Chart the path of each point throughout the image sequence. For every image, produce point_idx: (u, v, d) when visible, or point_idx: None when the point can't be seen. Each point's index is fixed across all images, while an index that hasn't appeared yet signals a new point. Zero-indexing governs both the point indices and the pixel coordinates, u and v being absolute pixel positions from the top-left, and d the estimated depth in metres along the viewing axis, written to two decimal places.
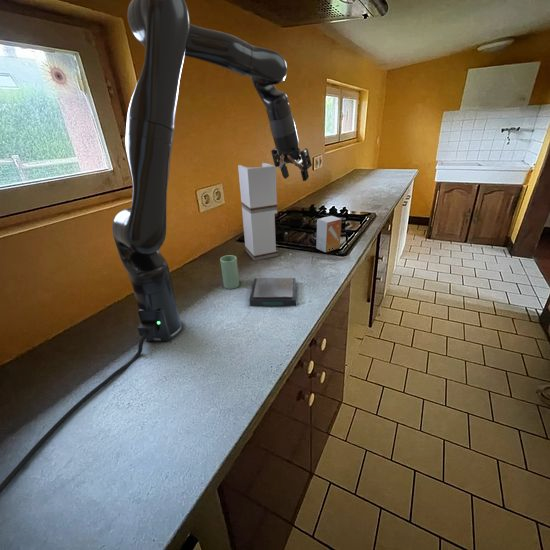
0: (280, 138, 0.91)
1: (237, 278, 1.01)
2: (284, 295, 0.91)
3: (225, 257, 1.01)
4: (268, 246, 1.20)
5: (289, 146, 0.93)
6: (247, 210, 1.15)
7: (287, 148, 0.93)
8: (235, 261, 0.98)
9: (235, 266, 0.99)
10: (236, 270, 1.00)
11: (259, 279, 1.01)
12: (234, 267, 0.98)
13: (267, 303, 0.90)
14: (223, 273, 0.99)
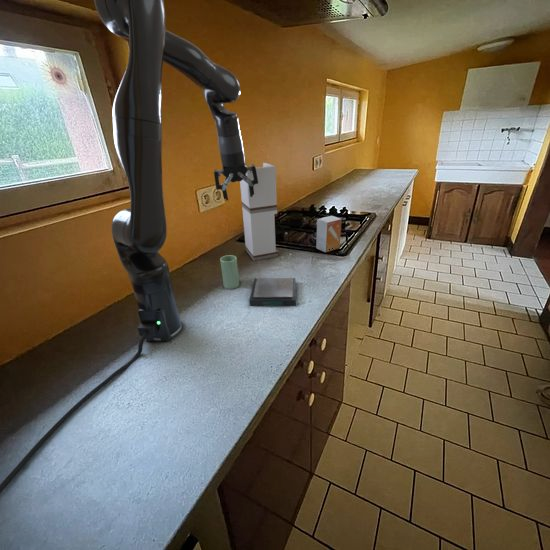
0: (236, 153, 0.93)
1: (237, 278, 1.01)
2: (284, 295, 0.91)
3: (225, 257, 1.01)
4: (268, 246, 1.20)
5: (243, 162, 0.96)
6: (247, 210, 1.15)
7: (241, 164, 0.96)
8: (235, 261, 0.98)
9: (235, 266, 0.99)
10: (236, 270, 1.00)
11: (259, 279, 1.01)
12: (234, 267, 0.98)
13: (267, 303, 0.90)
14: (223, 273, 0.99)
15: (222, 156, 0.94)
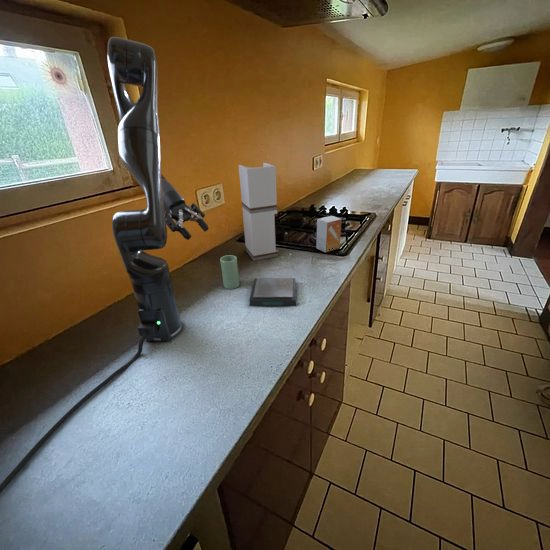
0: (174, 190, 0.99)
1: (237, 278, 1.01)
2: (284, 295, 0.91)
3: (225, 257, 1.01)
4: (268, 246, 1.20)
5: None
6: (247, 210, 1.15)
7: (183, 199, 1.00)
8: (235, 261, 0.98)
9: (235, 266, 0.99)
10: (236, 270, 1.00)
11: (259, 279, 1.01)
12: (234, 267, 0.98)
13: (267, 303, 0.90)
14: (223, 273, 0.99)
15: (164, 197, 0.97)
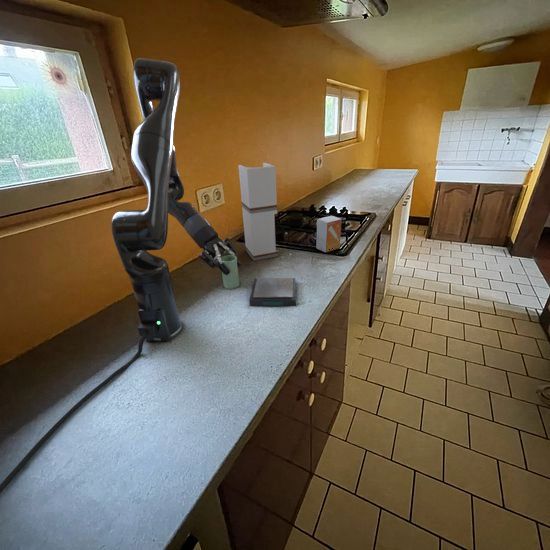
0: (209, 224, 0.98)
1: (237, 278, 1.01)
2: (284, 295, 0.91)
3: (225, 257, 1.01)
4: (268, 246, 1.20)
5: None
6: (247, 210, 1.15)
7: (217, 233, 1.00)
8: (235, 261, 0.98)
9: (235, 266, 0.99)
10: (236, 270, 1.00)
11: (259, 279, 1.01)
12: (234, 267, 0.98)
13: (267, 303, 0.90)
14: None
15: (199, 233, 0.96)
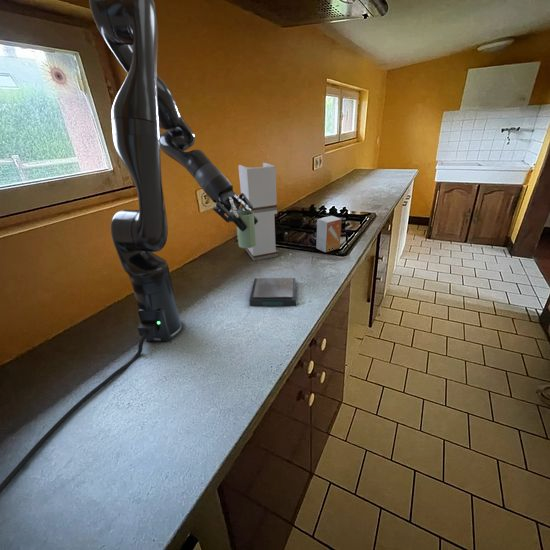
0: (223, 175, 0.88)
1: (254, 236, 0.91)
2: (284, 295, 0.91)
3: (241, 213, 0.91)
4: (268, 246, 1.20)
5: None
6: None
7: (232, 185, 0.89)
8: (252, 216, 0.88)
9: (252, 222, 0.88)
10: (253, 227, 0.89)
11: (259, 279, 1.01)
12: (251, 223, 0.88)
13: (267, 303, 0.90)
14: (239, 230, 0.89)
15: (212, 183, 0.85)
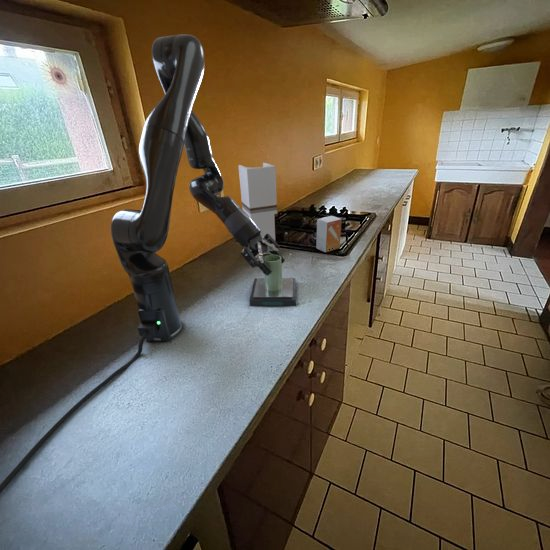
0: (251, 221, 0.91)
1: (281, 279, 0.94)
2: (284, 295, 0.91)
3: (268, 257, 0.93)
4: None
5: None
6: (247, 210, 1.15)
7: (260, 230, 0.92)
8: (280, 261, 0.91)
9: (280, 266, 0.91)
10: (280, 271, 0.92)
11: (259, 279, 1.01)
12: (279, 267, 0.91)
13: (267, 303, 0.90)
14: None
15: (242, 230, 0.88)
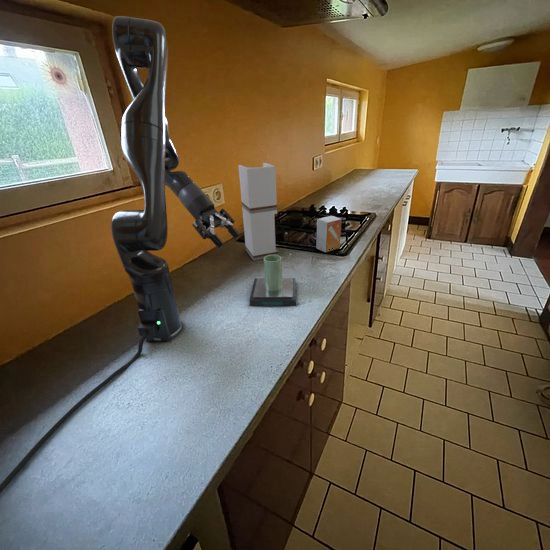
0: (204, 194, 0.93)
1: (281, 279, 0.94)
2: (284, 295, 0.91)
3: (268, 257, 0.93)
4: (268, 246, 1.20)
5: None
6: (247, 210, 1.15)
7: (213, 204, 0.95)
8: (280, 261, 0.91)
9: (280, 266, 0.91)
10: (280, 271, 0.92)
11: (259, 279, 1.01)
12: (279, 267, 0.91)
13: (267, 303, 0.90)
14: (267, 274, 0.92)
15: (194, 202, 0.91)
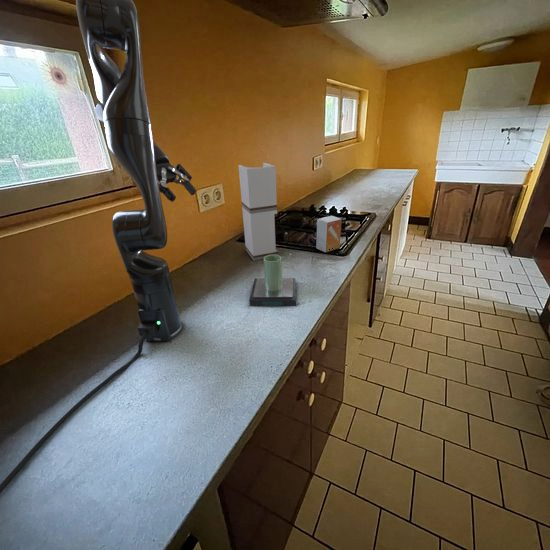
0: (157, 146, 0.88)
1: (281, 279, 0.94)
2: (284, 295, 0.91)
3: (268, 257, 0.93)
4: (268, 246, 1.20)
5: (167, 157, 0.90)
6: (247, 210, 1.15)
7: (167, 157, 0.89)
8: (280, 261, 0.91)
9: (280, 266, 0.91)
10: (280, 271, 0.92)
11: (259, 279, 1.01)
12: (279, 267, 0.91)
13: (267, 303, 0.90)
14: (267, 274, 0.92)
15: None
